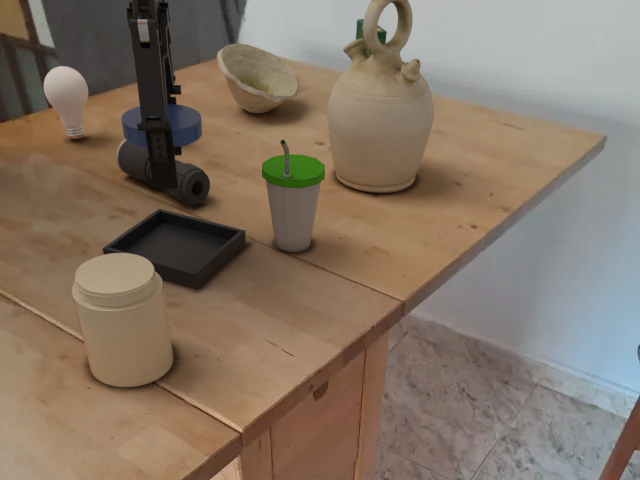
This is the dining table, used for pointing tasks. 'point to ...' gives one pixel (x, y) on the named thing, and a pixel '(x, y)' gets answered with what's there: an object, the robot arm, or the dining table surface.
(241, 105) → the bowl
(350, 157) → the jug
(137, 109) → the lid
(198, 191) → the flashlight
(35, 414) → the dining table surface
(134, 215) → the dining table surface
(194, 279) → the tray
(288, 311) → the dining table surface
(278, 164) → the cup
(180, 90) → the robot arm
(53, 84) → the light bulb
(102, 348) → the jar
